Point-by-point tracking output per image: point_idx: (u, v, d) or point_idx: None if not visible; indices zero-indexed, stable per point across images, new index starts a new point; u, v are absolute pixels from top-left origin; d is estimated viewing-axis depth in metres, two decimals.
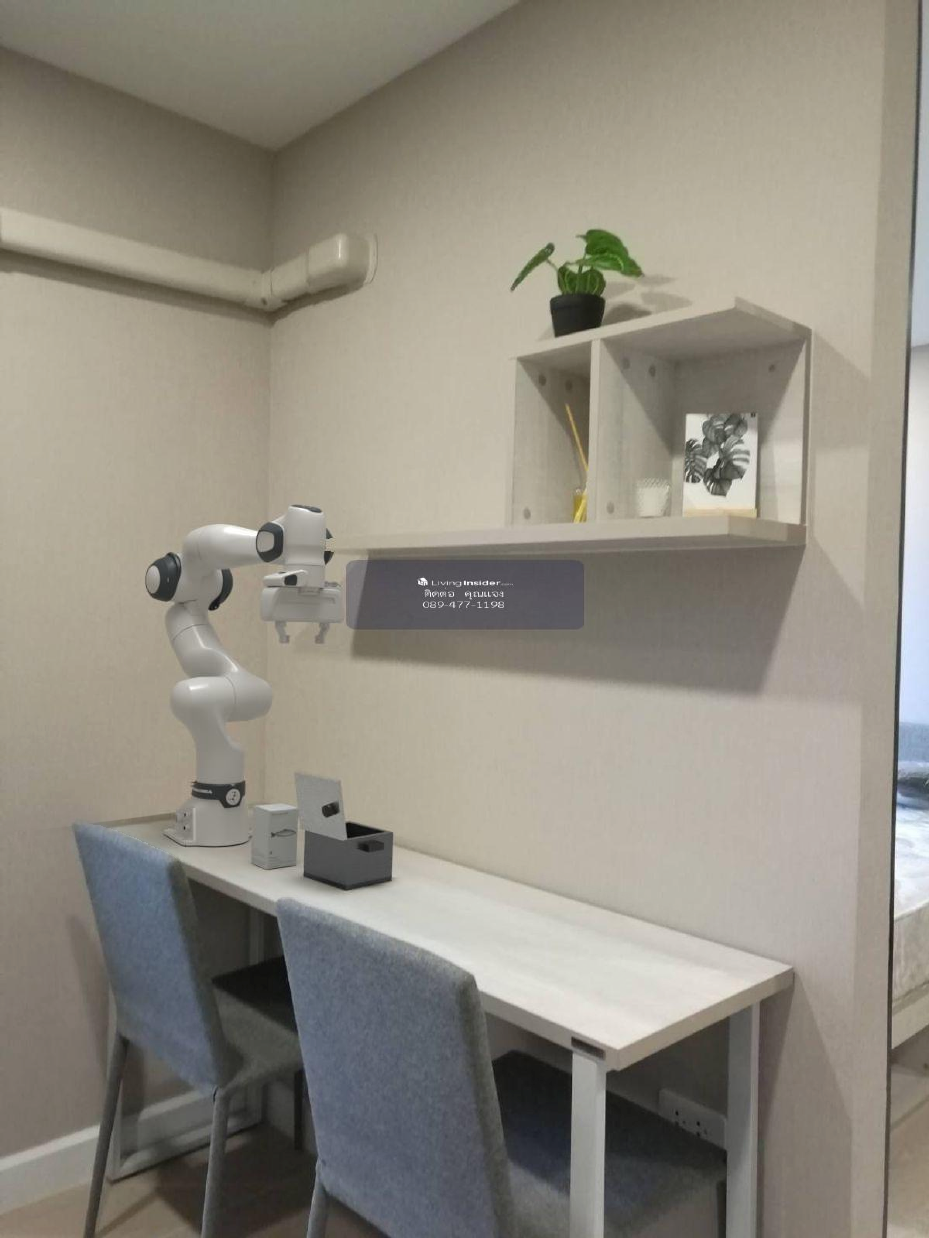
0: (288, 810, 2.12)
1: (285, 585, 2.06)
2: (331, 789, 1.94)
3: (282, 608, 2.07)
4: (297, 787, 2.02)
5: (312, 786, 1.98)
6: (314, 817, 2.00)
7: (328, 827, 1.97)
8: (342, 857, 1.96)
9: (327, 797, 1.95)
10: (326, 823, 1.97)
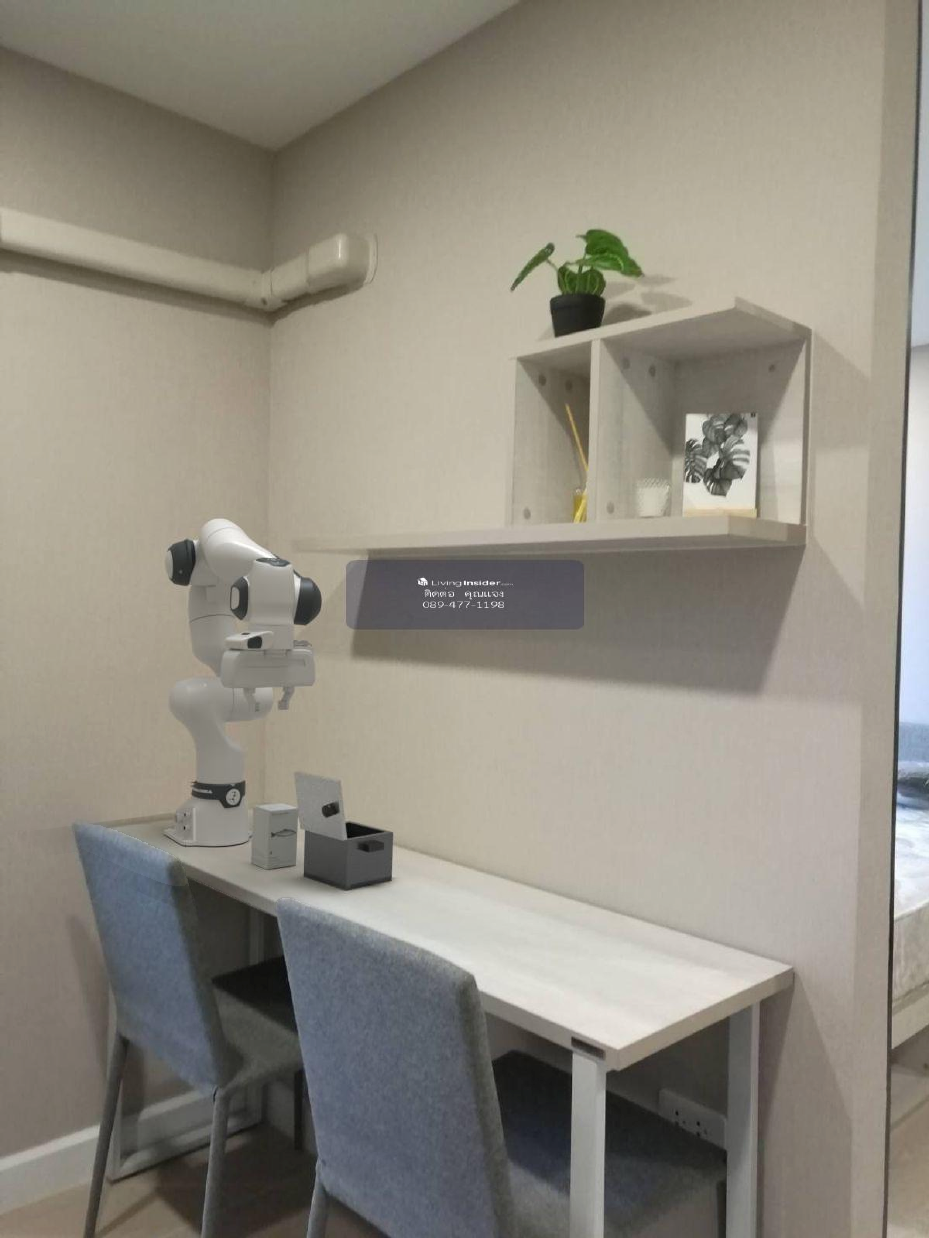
0: (288, 810, 2.12)
1: (248, 648, 1.87)
2: (331, 789, 1.94)
3: (245, 673, 1.88)
4: (297, 787, 2.02)
5: (312, 786, 1.98)
6: (314, 817, 2.00)
7: (328, 827, 1.97)
8: (342, 857, 1.96)
9: (327, 797, 1.95)
10: (326, 823, 1.97)
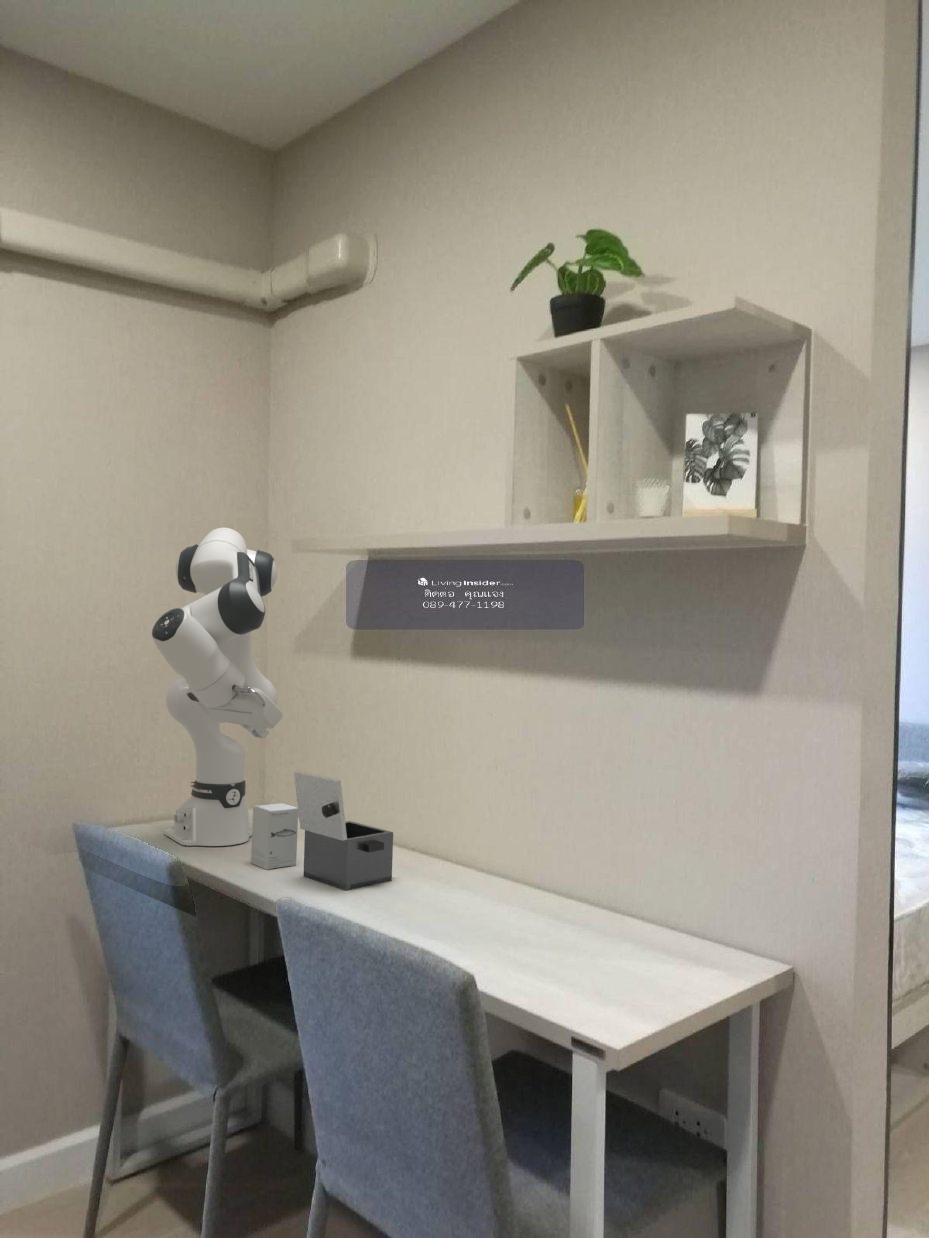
0: (288, 810, 2.12)
1: (193, 700, 1.85)
2: (331, 789, 1.94)
3: (214, 713, 1.88)
4: (297, 787, 2.02)
5: (312, 786, 1.98)
6: (314, 817, 2.00)
7: (328, 827, 1.97)
8: (342, 857, 1.96)
9: (327, 797, 1.95)
10: (326, 823, 1.97)
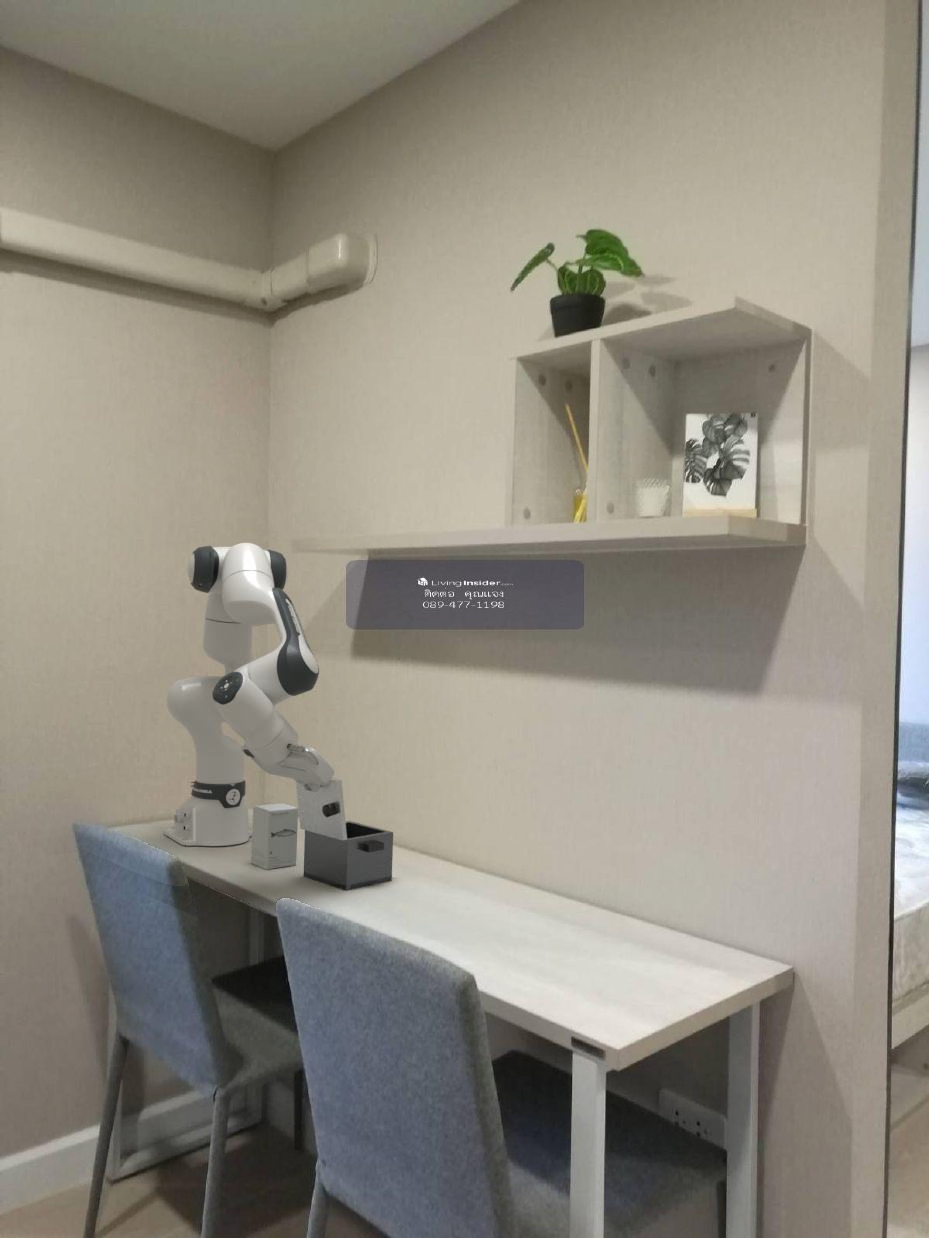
0: (288, 810, 2.12)
1: (249, 756, 1.95)
2: (332, 789, 1.94)
3: (268, 767, 1.97)
4: (298, 787, 2.02)
5: None
6: (314, 817, 2.00)
7: (328, 827, 1.97)
8: (342, 857, 1.96)
9: (328, 797, 1.96)
10: (326, 823, 1.97)
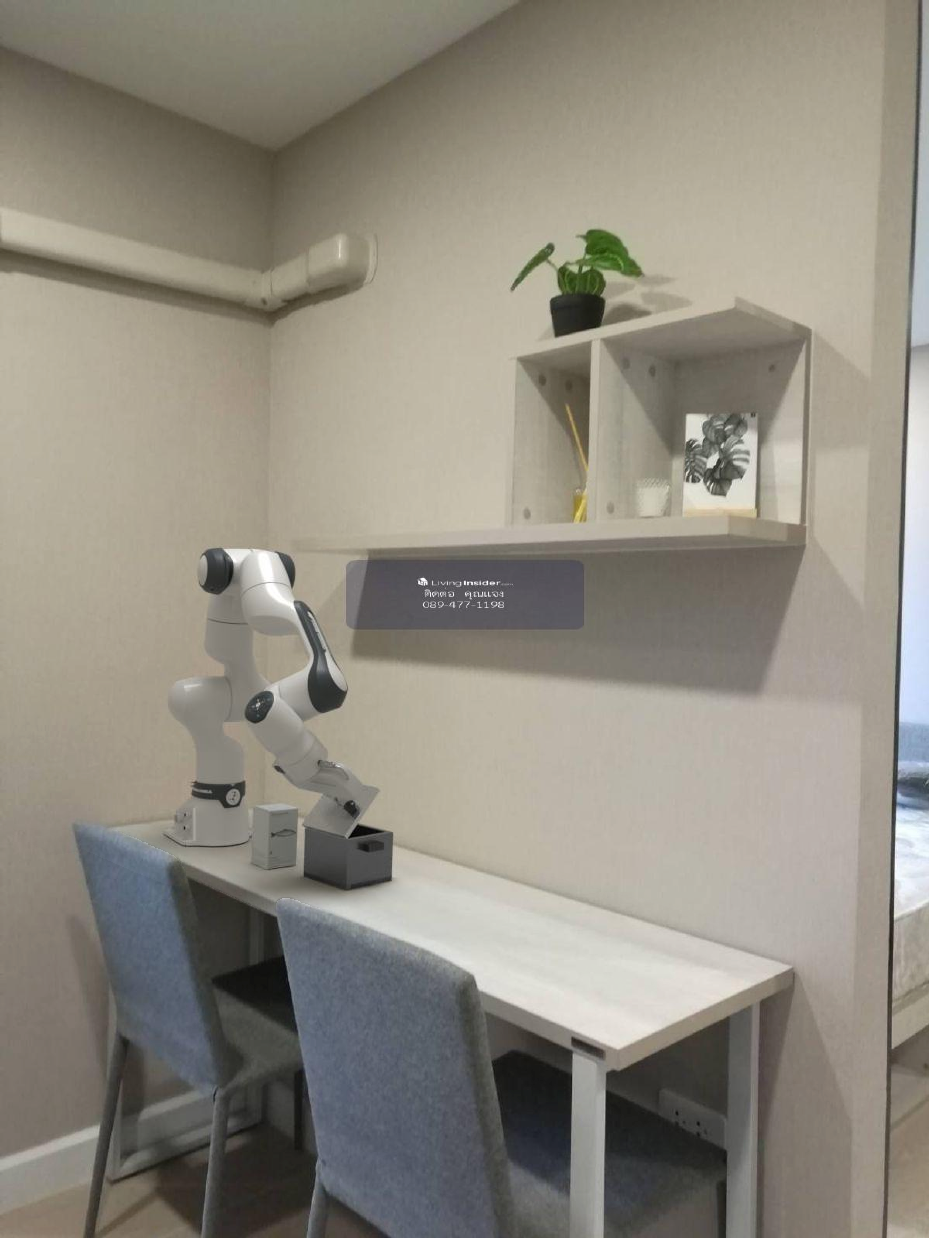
0: (288, 810, 2.12)
1: None
2: (366, 793, 2.00)
3: (298, 782, 2.02)
4: None
5: None
6: (326, 815, 2.02)
7: (336, 824, 1.98)
8: (342, 857, 1.96)
9: (356, 799, 2.01)
10: (336, 821, 1.99)
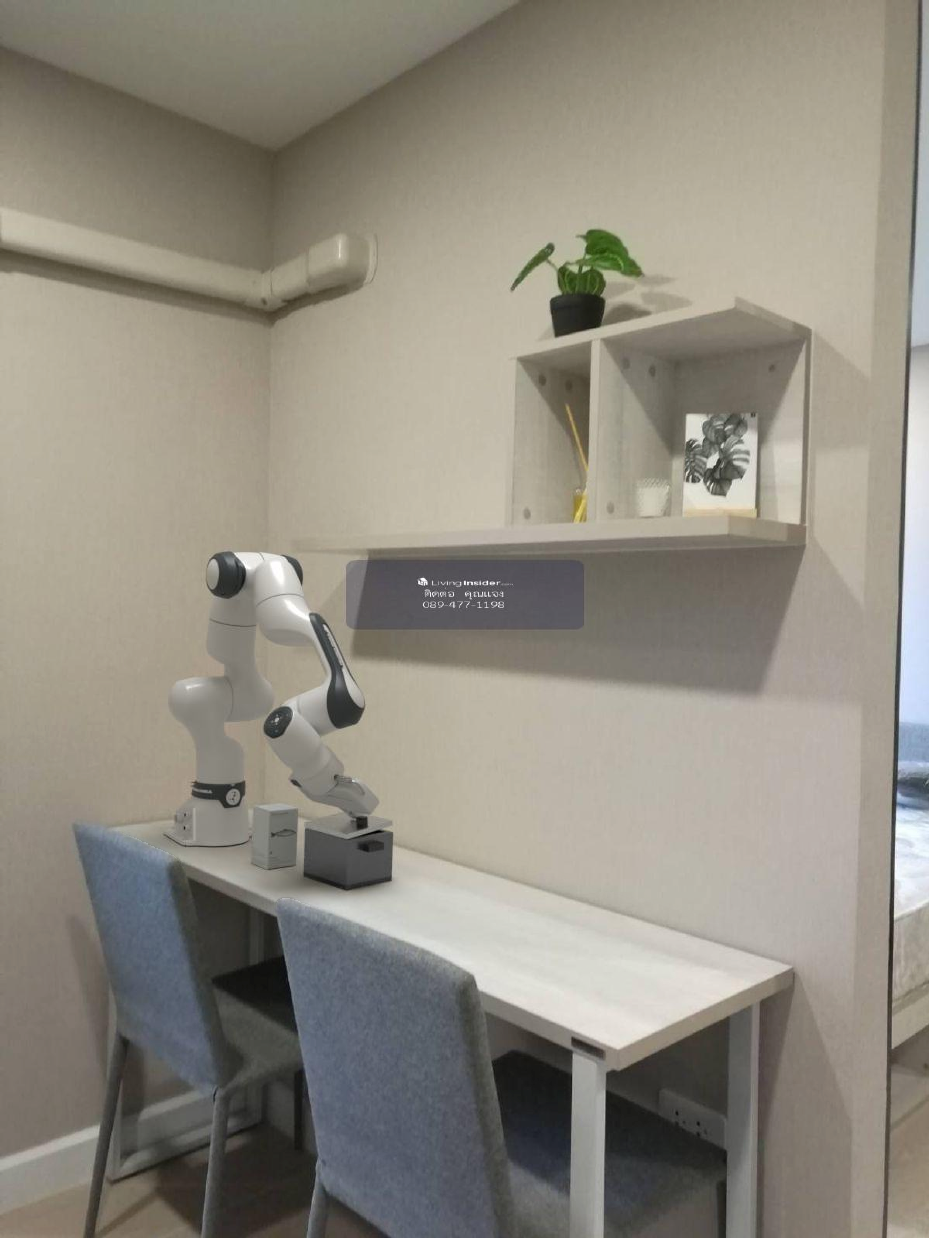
0: (288, 810, 2.12)
1: (295, 785, 2.03)
2: (379, 821, 2.03)
3: (313, 795, 2.05)
4: (339, 813, 2.10)
5: None
6: (332, 823, 2.03)
7: (341, 828, 1.99)
8: (342, 857, 1.96)
9: None
10: (341, 827, 2.00)
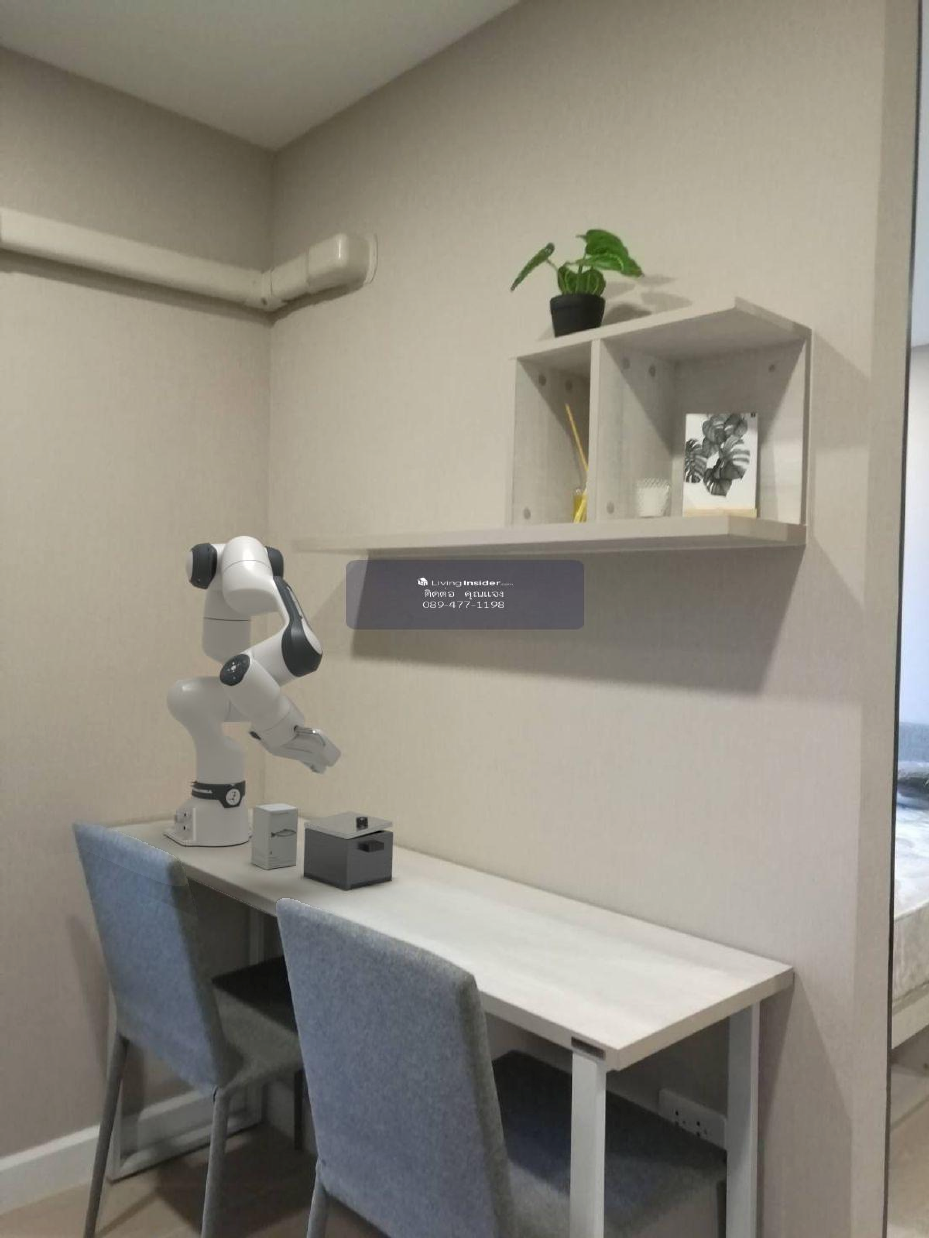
0: (288, 810, 2.12)
1: (255, 738, 1.95)
2: (379, 821, 2.03)
3: (274, 749, 1.98)
4: (339, 814, 2.10)
5: (359, 817, 2.07)
6: (332, 823, 2.03)
7: (341, 828, 1.99)
8: (342, 857, 1.96)
9: None
10: (341, 827, 2.00)
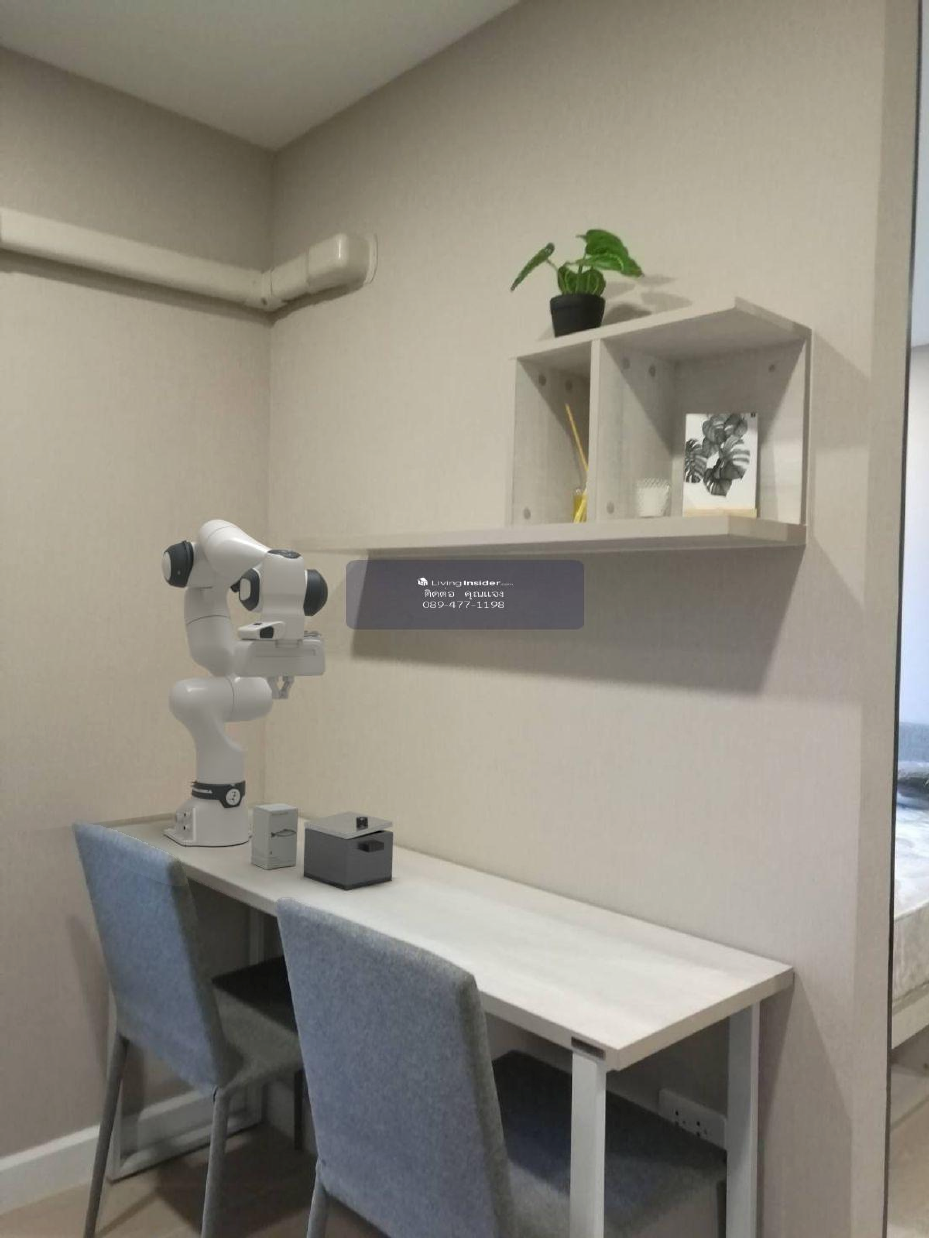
0: (288, 810, 2.12)
1: (260, 638, 1.91)
2: (379, 821, 2.03)
3: (257, 663, 1.92)
4: (339, 814, 2.10)
5: (359, 817, 2.07)
6: (332, 823, 2.03)
7: (341, 828, 1.99)
8: (342, 857, 1.96)
9: None
10: (341, 827, 2.00)
